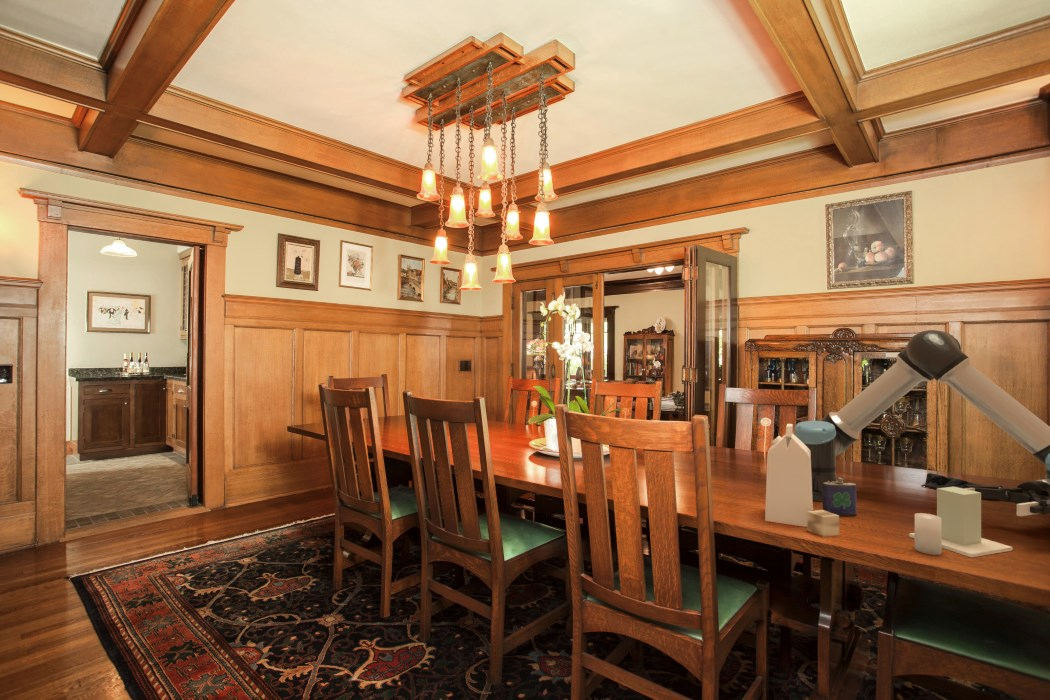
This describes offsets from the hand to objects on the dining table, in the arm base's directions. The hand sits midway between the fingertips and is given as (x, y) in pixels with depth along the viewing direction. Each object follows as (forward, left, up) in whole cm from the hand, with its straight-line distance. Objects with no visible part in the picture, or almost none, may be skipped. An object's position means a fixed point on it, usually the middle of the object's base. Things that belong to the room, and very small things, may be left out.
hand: (985, 502), depth 130 cm
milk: (-28, -33, -9) cm, 45 cm away
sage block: (0, -9, -8) cm, 13 cm away
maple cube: (-16, -34, -9) cm, 39 cm away
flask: (-26, -17, -9) cm, 33 cm away
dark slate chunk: (-32, +45, -10) cm, 56 cm away
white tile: (0, -9, -9) cm, 13 cm away
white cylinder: (+1, -21, -9) cm, 23 cm away
